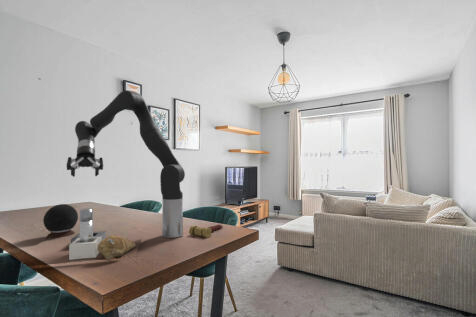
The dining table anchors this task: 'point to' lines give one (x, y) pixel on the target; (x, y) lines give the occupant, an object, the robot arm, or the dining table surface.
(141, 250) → the dining table surface
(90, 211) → the grey tall cylinder
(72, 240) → the socket block
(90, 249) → the block
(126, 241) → the seashell
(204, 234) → the gavel
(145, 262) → the dining table surface
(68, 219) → the black rounded disc
